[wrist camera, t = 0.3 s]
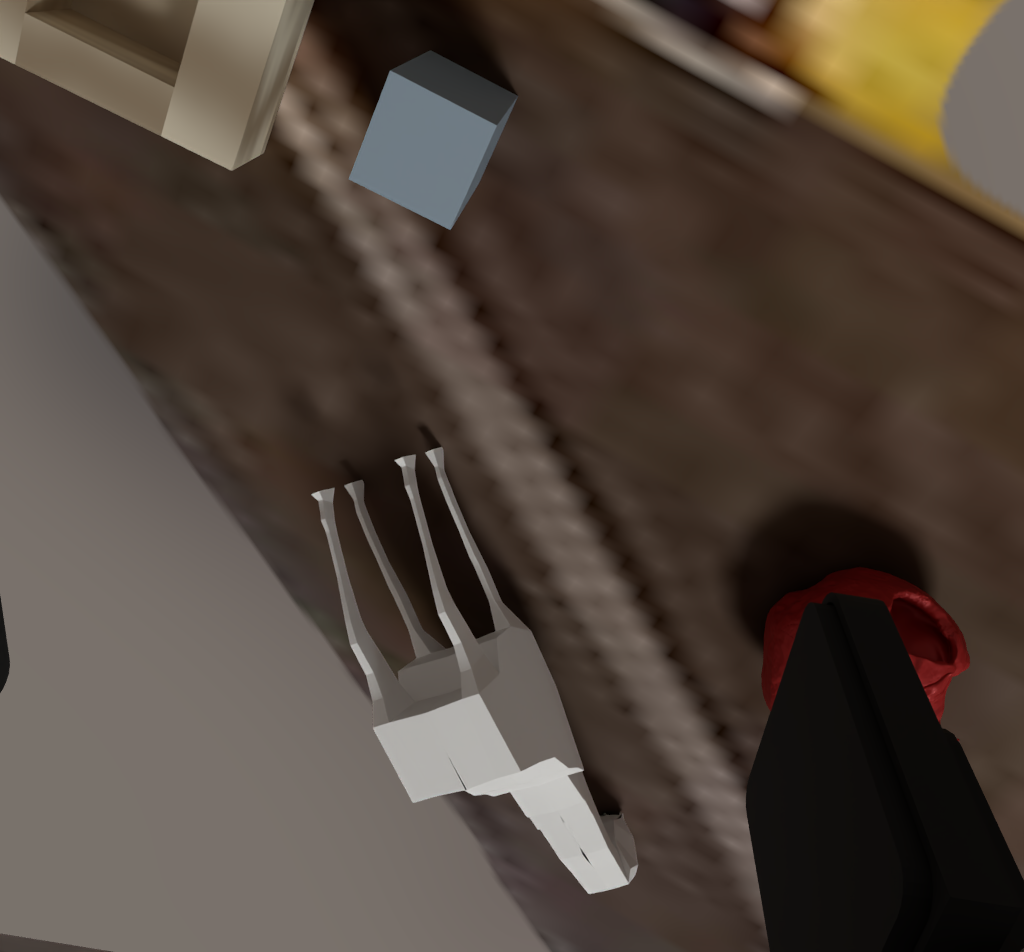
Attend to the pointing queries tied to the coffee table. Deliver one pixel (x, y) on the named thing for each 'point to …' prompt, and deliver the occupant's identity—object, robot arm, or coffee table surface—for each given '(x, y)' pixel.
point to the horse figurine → (479, 705)
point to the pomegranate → (912, 610)
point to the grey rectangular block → (432, 136)
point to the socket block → (167, 63)
